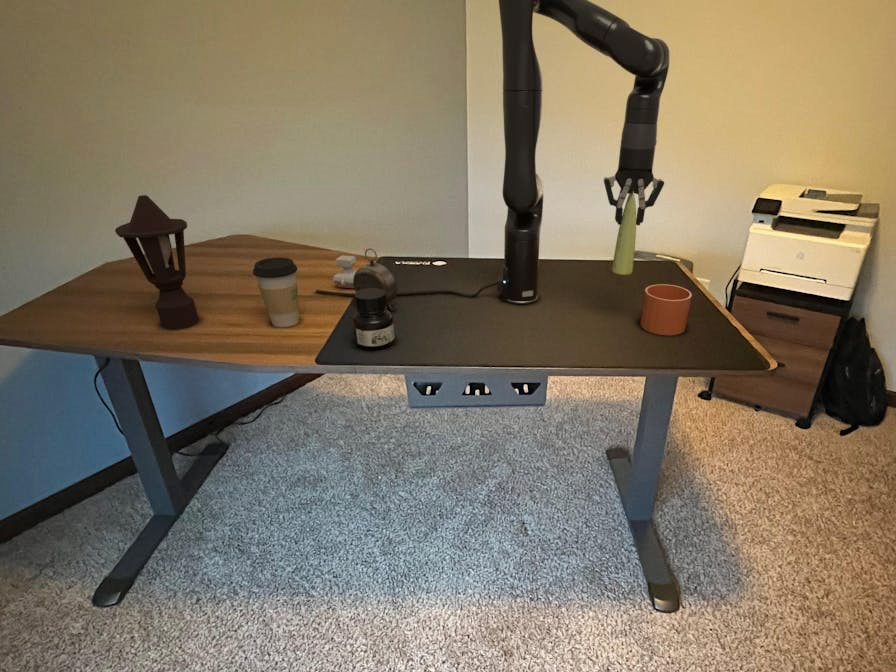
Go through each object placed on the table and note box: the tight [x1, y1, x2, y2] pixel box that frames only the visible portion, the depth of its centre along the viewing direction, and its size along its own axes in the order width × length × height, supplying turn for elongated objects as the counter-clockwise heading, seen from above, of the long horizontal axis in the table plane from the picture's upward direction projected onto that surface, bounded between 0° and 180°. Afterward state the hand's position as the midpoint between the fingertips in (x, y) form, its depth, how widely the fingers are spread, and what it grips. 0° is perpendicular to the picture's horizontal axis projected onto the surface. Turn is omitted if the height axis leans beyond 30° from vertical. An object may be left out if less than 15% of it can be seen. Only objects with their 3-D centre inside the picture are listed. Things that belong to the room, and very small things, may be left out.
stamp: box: [332, 254, 358, 289], centre depth 160 cm, size 9×7×8 cm
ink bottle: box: [352, 288, 395, 351], centre depth 128 cm, size 10×9×12 cm
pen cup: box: [639, 283, 693, 336], centre depth 140 cm, size 11×11×9 cm
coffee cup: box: [252, 256, 300, 328], centre depth 136 cm, size 10×10×15 cm
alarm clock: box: [353, 247, 398, 312], centre depth 143 cm, size 11×5×16 cm, turn 65°
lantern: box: [114, 194, 200, 330], centre depth 131 cm, size 15×15×30 cm
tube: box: [611, 191, 637, 276], centre depth 133 cm, size 6×5×20 cm
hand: (628, 223), depth 132 cm, fingers closed on tube, 3 cm apart
